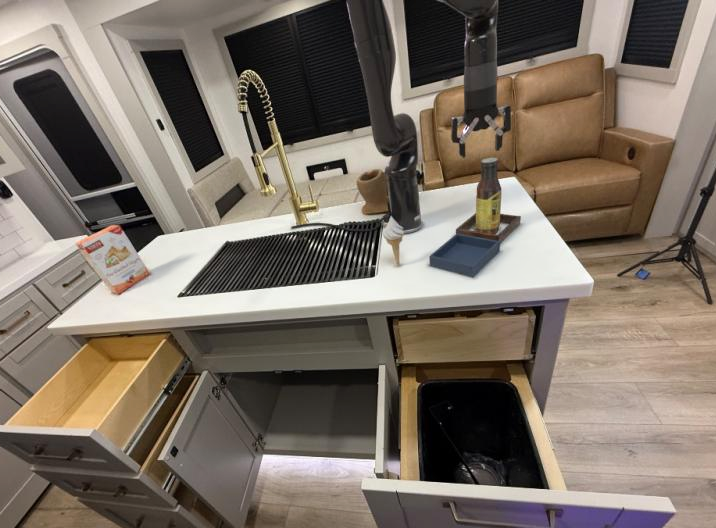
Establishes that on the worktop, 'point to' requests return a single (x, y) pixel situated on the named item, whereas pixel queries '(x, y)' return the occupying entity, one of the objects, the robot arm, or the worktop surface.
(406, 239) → the worktop surface
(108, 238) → the cracker box
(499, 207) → the sauce bottle
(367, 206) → the stone cup
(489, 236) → the walnut frame
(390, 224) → the ice cream cone
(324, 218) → the worktop surface
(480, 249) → the slate tray
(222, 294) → the worktop surface
